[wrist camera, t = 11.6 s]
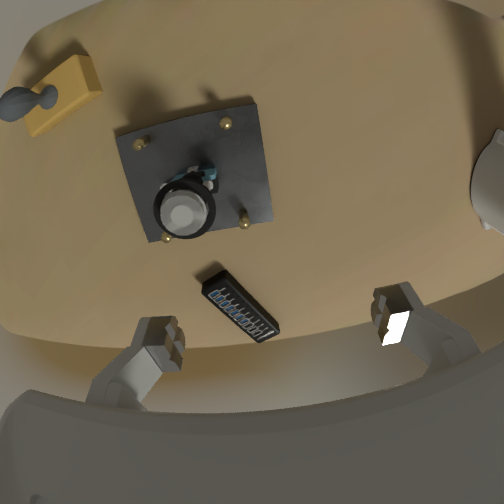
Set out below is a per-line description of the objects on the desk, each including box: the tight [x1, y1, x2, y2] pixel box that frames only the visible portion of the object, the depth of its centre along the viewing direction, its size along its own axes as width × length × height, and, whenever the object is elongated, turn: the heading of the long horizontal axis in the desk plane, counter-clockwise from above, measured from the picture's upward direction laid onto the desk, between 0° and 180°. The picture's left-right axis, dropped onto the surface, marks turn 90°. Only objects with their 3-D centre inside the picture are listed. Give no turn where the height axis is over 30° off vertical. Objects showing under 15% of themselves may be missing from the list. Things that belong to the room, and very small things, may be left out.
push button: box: [153, 166, 219, 239], centre depth 25 cm, size 7×5×10 cm
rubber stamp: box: [0, 54, 103, 137], centre depth 18 cm, size 10×6×12 cm, turn 107°
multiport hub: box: [201, 270, 280, 343], centre depth 41 cm, size 4×14×2 cm, turn 35°
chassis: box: [115, 104, 274, 243], centre depth 29 cm, size 16×14×4 cm
